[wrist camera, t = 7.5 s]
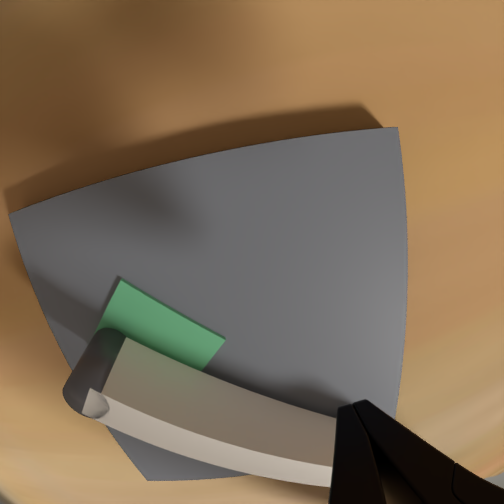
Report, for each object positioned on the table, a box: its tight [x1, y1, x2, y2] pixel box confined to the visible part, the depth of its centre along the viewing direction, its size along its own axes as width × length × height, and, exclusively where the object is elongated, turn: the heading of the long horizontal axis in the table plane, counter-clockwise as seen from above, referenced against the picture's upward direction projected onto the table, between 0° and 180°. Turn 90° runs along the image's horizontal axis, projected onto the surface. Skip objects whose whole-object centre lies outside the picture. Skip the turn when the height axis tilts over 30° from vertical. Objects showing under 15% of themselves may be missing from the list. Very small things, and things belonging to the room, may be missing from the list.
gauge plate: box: [9, 127, 408, 481], centre depth 14 cm, size 18×16×1 cm
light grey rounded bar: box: [63, 328, 336, 487], centre depth 12 cm, size 16×3×4 cm, turn 60°
